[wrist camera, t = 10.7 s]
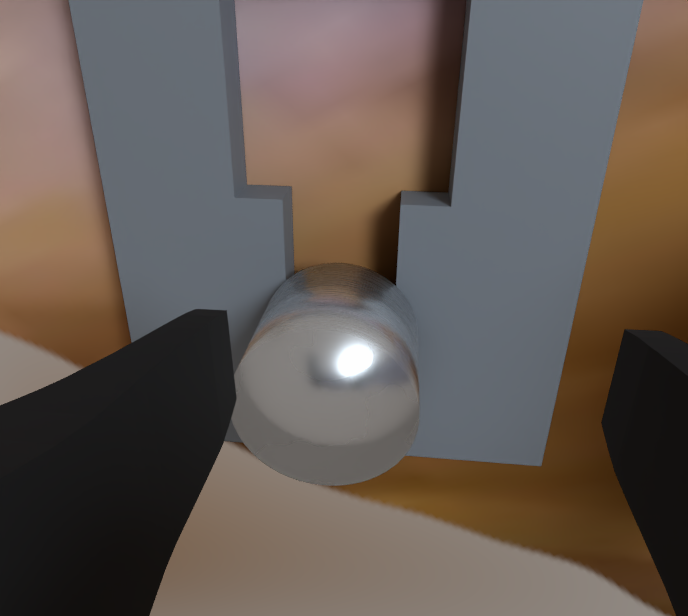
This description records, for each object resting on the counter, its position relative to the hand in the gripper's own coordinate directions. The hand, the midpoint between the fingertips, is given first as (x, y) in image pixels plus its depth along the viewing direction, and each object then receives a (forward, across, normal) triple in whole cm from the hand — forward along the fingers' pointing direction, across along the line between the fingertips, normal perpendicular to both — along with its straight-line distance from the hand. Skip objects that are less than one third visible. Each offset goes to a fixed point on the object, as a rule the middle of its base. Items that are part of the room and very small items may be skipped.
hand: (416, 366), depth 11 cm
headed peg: (+9, +2, +4) cm, 10 cm away
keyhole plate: (+9, +2, 0) cm, 10 cm away
